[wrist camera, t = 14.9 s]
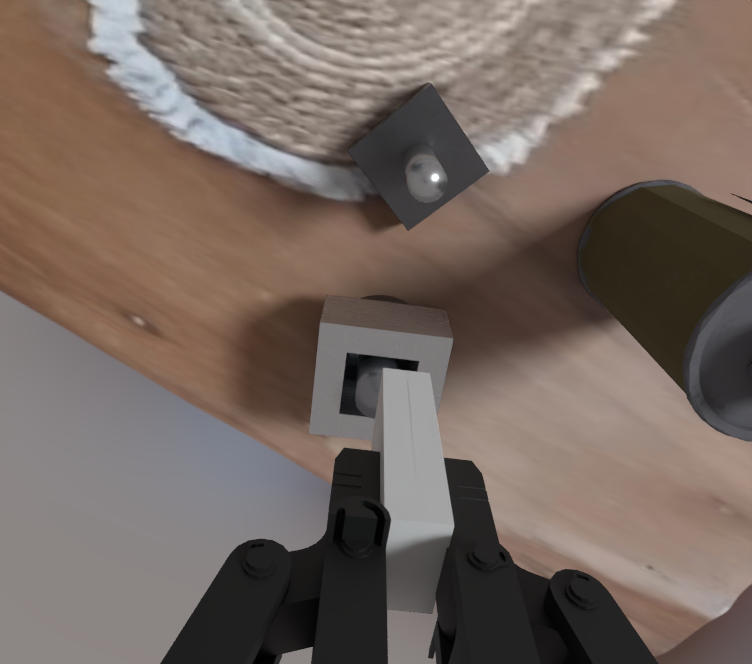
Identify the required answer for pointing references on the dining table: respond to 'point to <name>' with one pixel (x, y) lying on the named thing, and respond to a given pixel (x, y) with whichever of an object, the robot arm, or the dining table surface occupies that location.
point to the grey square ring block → (378, 338)
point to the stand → (418, 157)
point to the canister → (680, 290)
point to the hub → (370, 371)
